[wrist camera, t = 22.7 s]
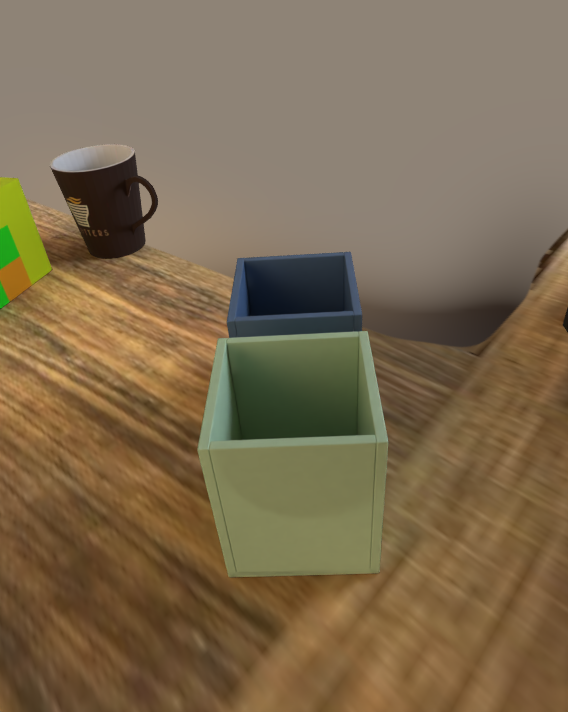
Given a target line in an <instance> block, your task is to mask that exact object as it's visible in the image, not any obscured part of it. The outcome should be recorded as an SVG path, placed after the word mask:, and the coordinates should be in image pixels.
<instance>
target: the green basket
mask: <svg viewBox="0 0 568 712" xmlns="http://www.w3.org/2000/svg"><path fill="white" fill-rule="evenodd" d="M197 450H198V455H199V459H200V463H201V467H202V471H203V475H204V479H205V483H206V487H207V491H208V495H209V499H210V503H211V507H212V511H213V515H214V519H215V524H216V528H217V532H218V536H219V540H220V544H221V548H222V552H223V556H224V560H225V564H226V568H227V572H228V576H229V577H258V576H297V575H335V574H370V573H371V574H374V573H379V572H380V557H381V543H382V528H383V514H384V499H385V485H386V470H387V456H388V438H387V432H386V427H385V422H384V416H383V411H382V406H381V400H380V395H379V390H378V384H377V379H376V374H375V368H374V363H373V358H372V352H371V347H370V342H369V336H368V332H367V331H359V332H338V333H318V334H298V335H278V336H258V337H237V338H219V339H218V341H217V346H216V352H215V357H214V363H213V368H212V373H211V379H210V384H209V390H208V395H207V400H206V406H205V411H204V416H203V422H202V427H201V433H200V438H199V443H198V449H197Z"/></svg>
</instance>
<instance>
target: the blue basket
mask: <svg viewBox="0 0 568 712" xmlns="http://www.w3.org/2000/svg"><path fill="white" fill-rule="evenodd" d="M227 327H228V333H229V338H237V337H258V336H278V335H298V334H318V333H338V332H359V331H362V311H361V306H360V301H359V294H358V289H357V283H356V278H355V272H354V267H353V261H352V256H351V252H344V253H343V252H339V253H322V254H305V255H287V256H270V257H253V258H245V259H244V258H238V259H237V265H236V271H235V277H234V282H233V288H232V294H231V300H230V306H229V312H228V317H227Z"/></svg>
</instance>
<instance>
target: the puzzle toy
mask: <svg viewBox="0 0 568 712" xmlns="http://www.w3.org/2000/svg"><path fill="white" fill-rule="evenodd" d="M51 270H52V267H51V265H50V262H49V259H48V257H47V254H46V251H45V249H44V246H43V243H42V241H41V238H40V235H39V233H38V230H37V227H36V225H35V222H34V219H33V217H32V214H31V211H30V209H29V206H28V203H27V201H26V198H25V195H24V193H23V190H22V187H21V185H20V182H19V179H18V178H2V177H0V309H1V308H2V307H4V306H5V305H6V304H8V303H9V302H10V301H12V300H13V299H14V298H16V297H17V296H18V295H20V294H21V293H22V292H24V291H25V290H26V289H28V288H29V287H30V286H31V285H33V284H34V283H35V282H37V281H38V280H39V279H41V278H42V277H43V276H45V275H46V274H47V273H49V272H50V271H51Z"/></svg>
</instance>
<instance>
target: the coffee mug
mask: <svg viewBox="0 0 568 712" xmlns="http://www.w3.org/2000/svg"><path fill="white" fill-rule="evenodd" d="M50 167H51V169H52V172H53V174H54V176H55V178H56V180H57V182H58V185H59V187H60V189H61V191H62V193H63V195H64V198H65V200H66V202H67V204H68V206H69V209H70V211H71V213H72V215H73V217H74V219H75V222H76V224H77V226H78V228H79V230H80V232H81V235H82V237H83V239H84V241H85V243H86V245H87V248H88V250H89V252H90V254H91V255H93V256H95V257H98V258H105V259H107V258H118V257H123V256H126V255H129V254H132V253H134V252H136V251H138V250H139V249H141V248H142V247H143V246H144V244H145V233H144V224H143V223H145V222H146V221H147V220H148V219H150V218H151V217H152V215H153V214H154V212H155V211H156V208H157V205H158V198H157V195H156V192H155V190H154V188H153V186H152V185H151V184H150V183H149V182H148V181H147V180H146V179H144V178H143V177H140V176H138V175H137V166H136V158H135V151H134V149H133V148H131V147H129V146H125V145H117V144H116V145H113V144H110V145H96V146H89V147H84V148H80V149H76V150H72V151H69V152H67V153H64V154H62V155H59V156H58V157H56V158H55V159H53V160H52V161H51V163H50ZM139 183H141V184H142V185H143V186H145V187H146V189H147V190H148V191H149V193H150V195H151V198H152V205H151V208H150V210H149V212H148V213H147V214H146V215H145V216H144V217H143V216H142V208H141V199H140V191H139Z"/></svg>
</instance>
